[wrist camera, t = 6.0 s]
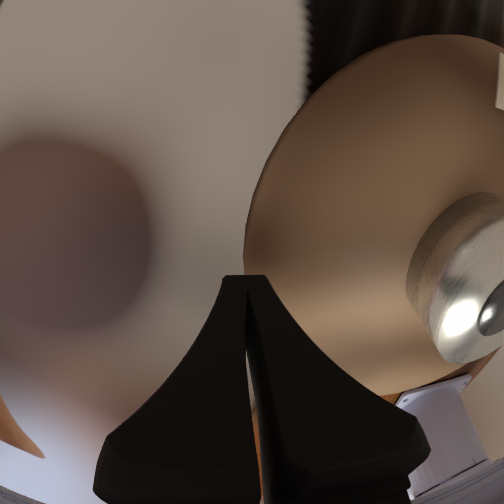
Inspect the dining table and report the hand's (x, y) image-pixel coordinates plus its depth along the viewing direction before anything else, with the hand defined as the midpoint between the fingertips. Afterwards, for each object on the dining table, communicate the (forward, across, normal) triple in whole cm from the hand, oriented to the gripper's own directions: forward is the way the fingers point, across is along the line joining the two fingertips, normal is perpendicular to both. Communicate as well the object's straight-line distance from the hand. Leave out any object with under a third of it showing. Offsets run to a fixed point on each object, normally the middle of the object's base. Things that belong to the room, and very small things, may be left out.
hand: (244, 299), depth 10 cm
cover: (+2, -10, 0) cm, 11 cm away
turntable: (+3, -10, 0) cm, 10 cm away
